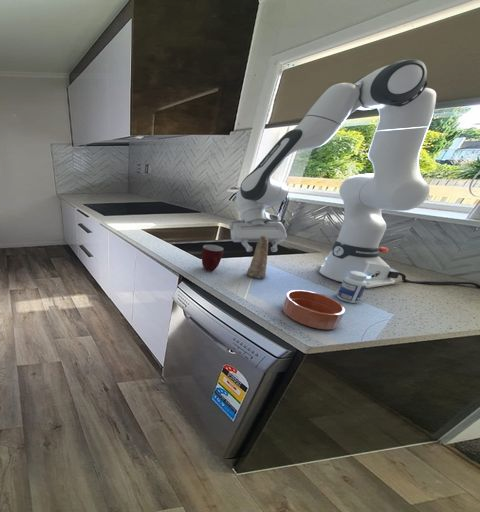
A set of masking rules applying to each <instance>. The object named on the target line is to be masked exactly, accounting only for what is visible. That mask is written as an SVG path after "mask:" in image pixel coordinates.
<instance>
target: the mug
mask: <svg viewBox="0 0 480 512" xmlns="http://www.w3.org/2000/svg"><path fill="white" fill-rule="evenodd" d="M224 249H225V248H224V247H222V246H220V245H217V244H204V245H202V249H201V264H202V266H203V269H204V270H205V271H207V272H214V271H215V270H216V269H217V268H218V267H219V265H220V262H221V260H222V258H223V255H224Z"/></svg>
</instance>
